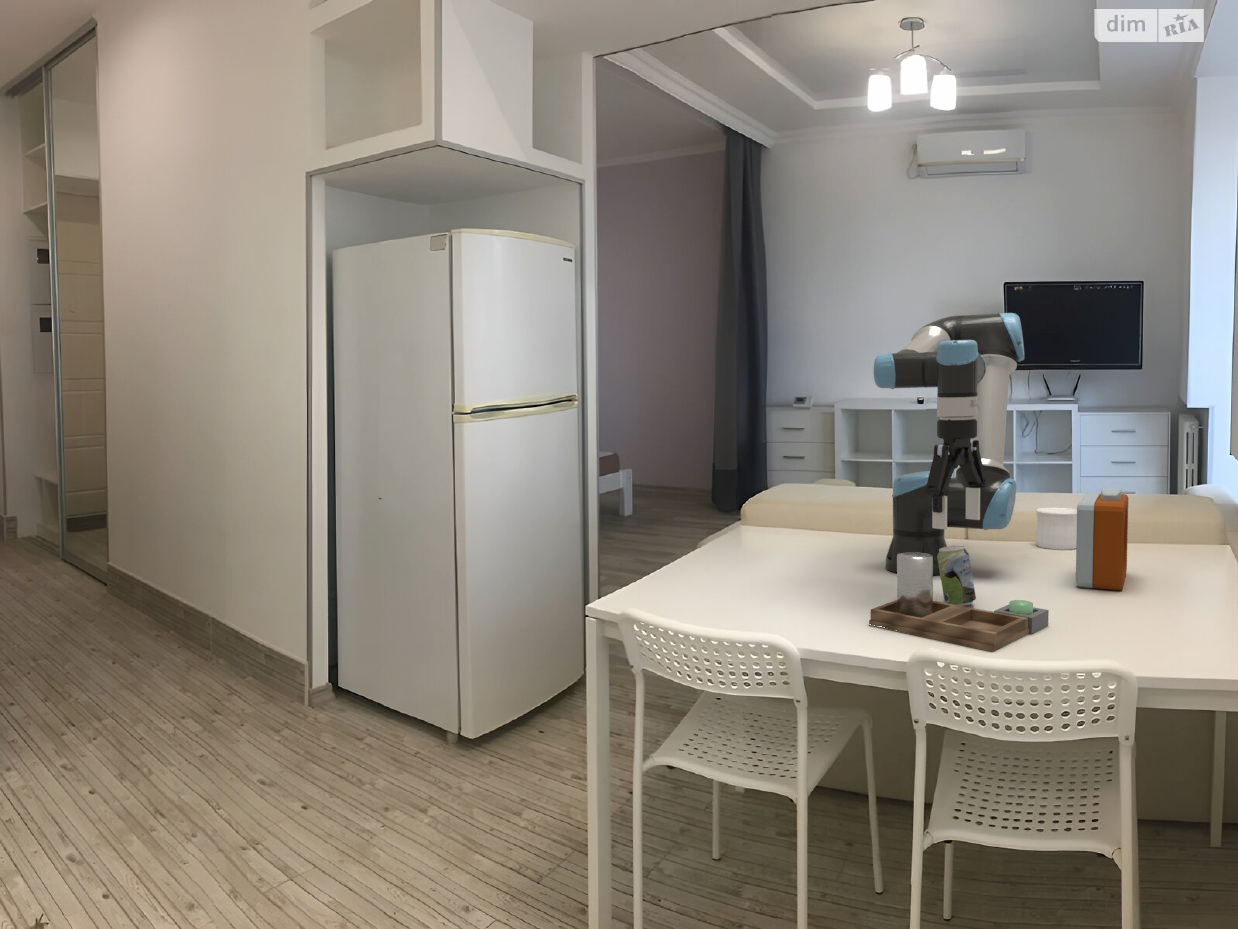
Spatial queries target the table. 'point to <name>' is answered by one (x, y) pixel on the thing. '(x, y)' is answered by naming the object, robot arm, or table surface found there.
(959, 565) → the beverage can
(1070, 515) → the cup
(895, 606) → the wooden divided tray
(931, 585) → the seated billet
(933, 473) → the robot arm
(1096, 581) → the orange and grey box
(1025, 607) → the button
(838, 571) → the table surface
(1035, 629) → the button housing
